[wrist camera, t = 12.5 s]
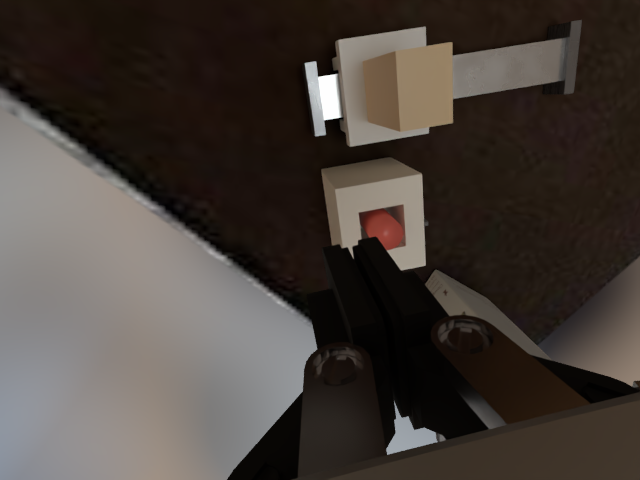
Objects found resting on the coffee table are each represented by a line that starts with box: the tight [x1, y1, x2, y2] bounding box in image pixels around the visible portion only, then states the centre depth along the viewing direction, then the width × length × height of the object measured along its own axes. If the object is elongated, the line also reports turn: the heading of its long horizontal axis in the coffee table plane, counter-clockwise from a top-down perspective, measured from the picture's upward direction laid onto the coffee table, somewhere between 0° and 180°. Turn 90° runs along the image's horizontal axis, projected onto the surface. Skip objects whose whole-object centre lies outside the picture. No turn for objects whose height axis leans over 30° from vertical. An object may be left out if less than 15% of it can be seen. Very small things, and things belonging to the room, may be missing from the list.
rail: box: [302, 20, 582, 136], centre depth 28 cm, size 5×21×2 cm, turn 99°
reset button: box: [359, 208, 403, 250], centre depth 27 cm, size 2×2×5 cm
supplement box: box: [425, 270, 552, 361], centre depth 32 cm, size 7×7×13 cm
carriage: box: [332, 27, 453, 147], centre depth 24 cm, size 7×6×10 cm
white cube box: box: [321, 157, 428, 270], centre depth 29 cm, size 7×7×7 cm
